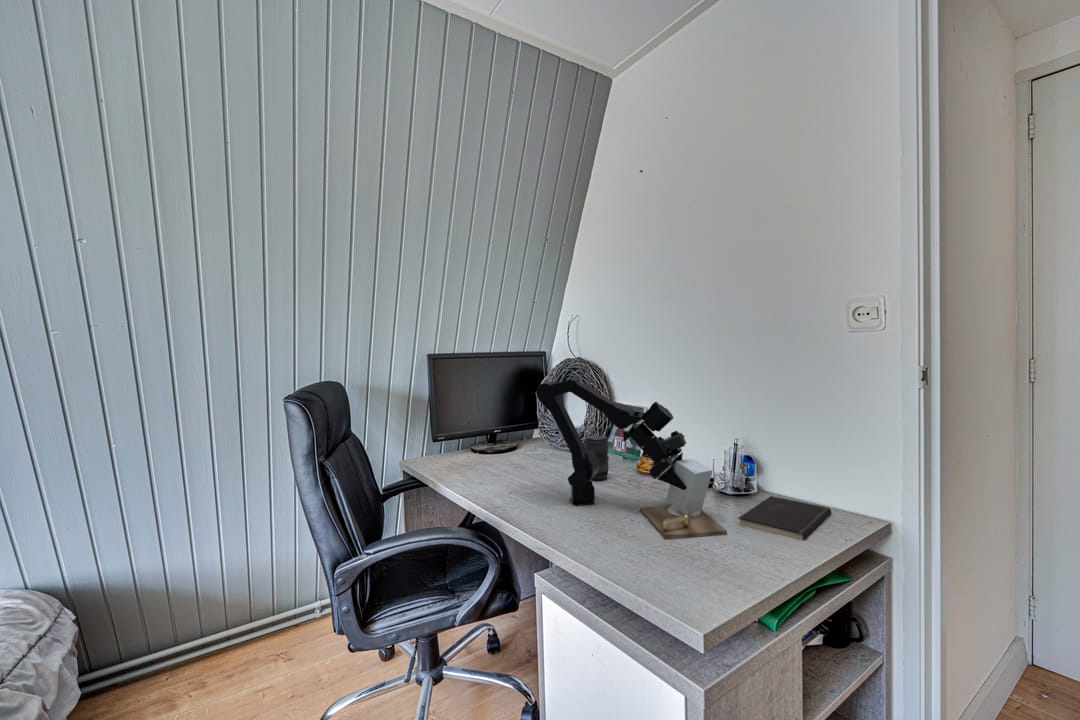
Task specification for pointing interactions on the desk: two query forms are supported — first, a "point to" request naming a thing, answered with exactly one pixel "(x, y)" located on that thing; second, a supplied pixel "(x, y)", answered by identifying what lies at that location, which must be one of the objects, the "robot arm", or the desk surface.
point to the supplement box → (690, 485)
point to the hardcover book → (785, 517)
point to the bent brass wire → (677, 520)
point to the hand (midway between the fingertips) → (688, 484)
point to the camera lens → (599, 454)
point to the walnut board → (682, 523)
